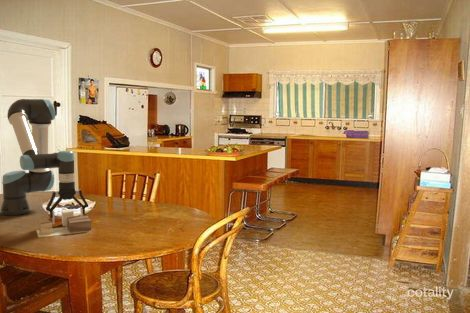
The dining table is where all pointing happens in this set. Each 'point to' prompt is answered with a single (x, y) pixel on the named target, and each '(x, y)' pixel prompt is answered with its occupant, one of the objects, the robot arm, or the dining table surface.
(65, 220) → the white block
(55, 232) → the build board
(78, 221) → the plinth
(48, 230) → the oak cube
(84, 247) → the dining table surface
